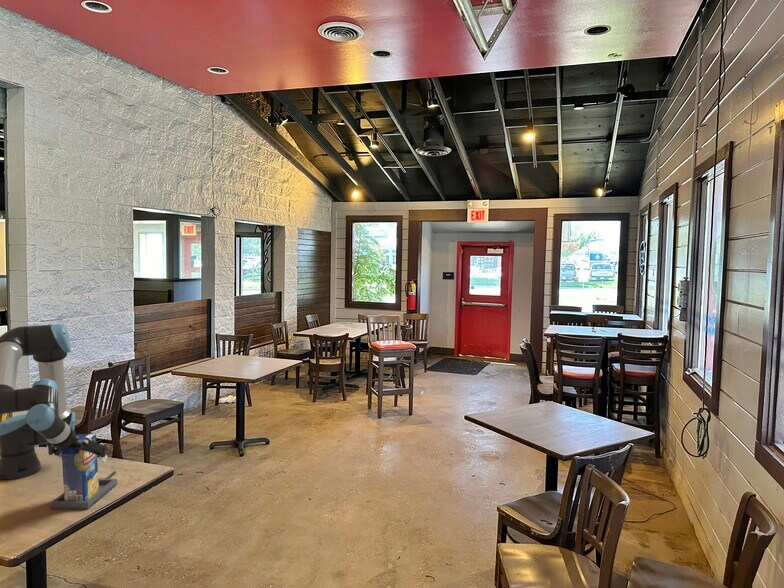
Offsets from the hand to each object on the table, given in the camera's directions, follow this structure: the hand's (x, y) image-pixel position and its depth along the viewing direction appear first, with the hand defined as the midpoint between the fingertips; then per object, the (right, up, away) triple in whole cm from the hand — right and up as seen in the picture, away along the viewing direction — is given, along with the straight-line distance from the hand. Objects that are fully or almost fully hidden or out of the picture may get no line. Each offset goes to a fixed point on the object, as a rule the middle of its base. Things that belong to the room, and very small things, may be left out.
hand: (87, 459), depth 196 cm
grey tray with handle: (0, -13, +4) cm, 14 cm away
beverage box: (0, -13, -3) cm, 13 cm away
